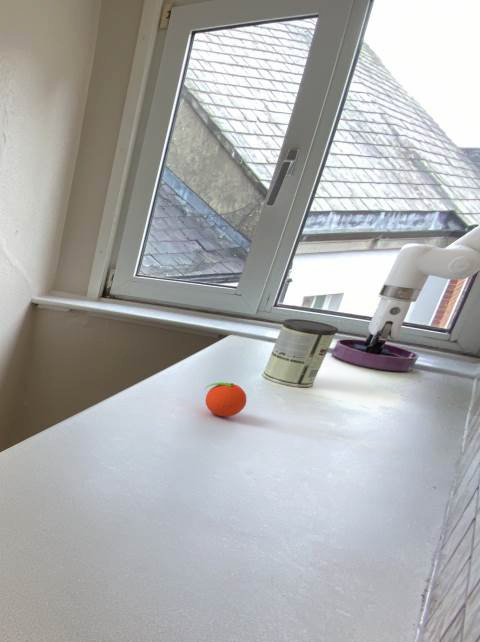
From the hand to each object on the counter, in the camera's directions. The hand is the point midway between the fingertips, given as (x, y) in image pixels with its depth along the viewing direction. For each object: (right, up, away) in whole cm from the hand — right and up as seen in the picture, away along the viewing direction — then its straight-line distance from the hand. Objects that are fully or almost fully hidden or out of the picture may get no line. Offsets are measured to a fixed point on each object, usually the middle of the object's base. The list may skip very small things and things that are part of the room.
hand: (367, 358), depth 153 cm
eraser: (0, 0, 0) cm, 0 cm away
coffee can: (-36, -8, -17) cm, 41 cm away
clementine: (-69, -17, -38) cm, 81 cm away
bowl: (+1, -1, 0) cm, 1 cm away
